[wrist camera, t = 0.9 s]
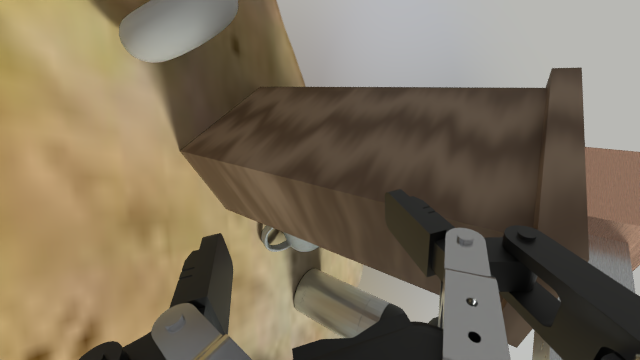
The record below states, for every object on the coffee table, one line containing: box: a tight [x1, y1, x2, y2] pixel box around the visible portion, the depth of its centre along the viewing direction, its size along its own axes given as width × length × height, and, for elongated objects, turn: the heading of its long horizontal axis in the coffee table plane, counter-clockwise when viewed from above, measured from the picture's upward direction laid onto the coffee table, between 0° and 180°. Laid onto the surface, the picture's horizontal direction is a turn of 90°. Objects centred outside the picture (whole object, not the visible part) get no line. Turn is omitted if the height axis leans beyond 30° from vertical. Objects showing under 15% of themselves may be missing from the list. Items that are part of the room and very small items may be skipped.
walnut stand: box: [180, 68, 589, 347], centre depth 27 cm, size 16×12×32 cm
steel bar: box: [532, 147, 640, 360], centre depth 13 cm, size 20×6×4 cm, turn 115°
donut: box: [119, 0, 238, 63], centre depth 21 cm, size 10×4×10 cm, turn 124°
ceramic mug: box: [261, 225, 319, 252], centre depth 43 cm, size 11×8×8 cm
